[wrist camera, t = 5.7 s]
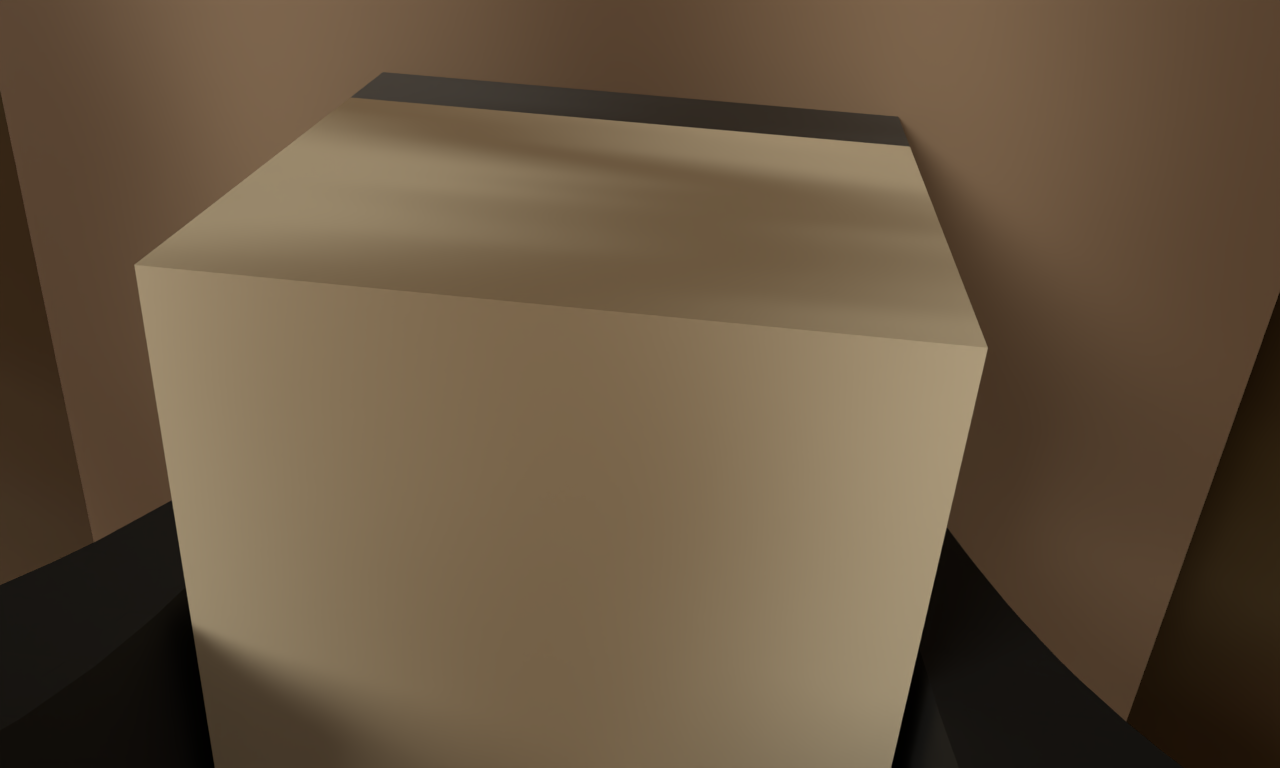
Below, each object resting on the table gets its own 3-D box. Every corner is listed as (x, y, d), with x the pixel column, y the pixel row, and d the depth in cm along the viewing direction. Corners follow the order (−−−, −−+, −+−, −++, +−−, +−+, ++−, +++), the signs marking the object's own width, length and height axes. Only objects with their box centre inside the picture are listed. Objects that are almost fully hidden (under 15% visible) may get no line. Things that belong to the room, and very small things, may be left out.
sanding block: (413, 743, 15) (273, 1128, 11) (383, 72, 11) (135, 265, 7) (784, 788, 15) (790, 1202, 11) (898, 117, 11) (989, 346, 6)
